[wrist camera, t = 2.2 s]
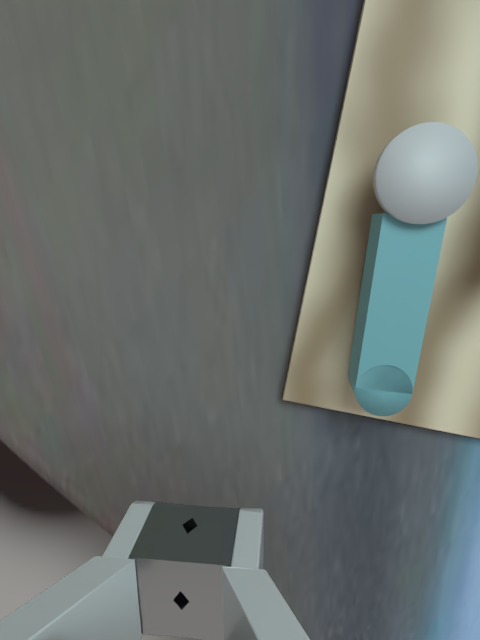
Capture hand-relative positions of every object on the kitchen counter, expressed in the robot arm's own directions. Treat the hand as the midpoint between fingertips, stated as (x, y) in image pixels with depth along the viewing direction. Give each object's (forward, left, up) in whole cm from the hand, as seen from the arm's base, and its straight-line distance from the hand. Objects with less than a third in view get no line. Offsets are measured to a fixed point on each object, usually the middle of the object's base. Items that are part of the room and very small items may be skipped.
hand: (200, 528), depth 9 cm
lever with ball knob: (+7, +5, -15) cm, 18 cm away
